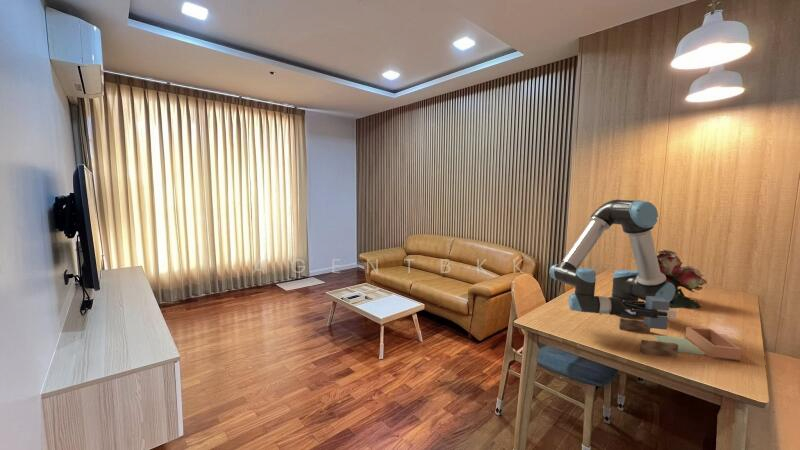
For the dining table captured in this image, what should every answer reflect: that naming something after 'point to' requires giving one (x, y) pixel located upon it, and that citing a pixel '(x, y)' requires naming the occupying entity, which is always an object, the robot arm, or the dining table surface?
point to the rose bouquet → (680, 278)
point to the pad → (681, 344)
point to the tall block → (656, 304)
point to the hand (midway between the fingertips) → (670, 311)
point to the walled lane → (646, 345)
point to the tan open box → (713, 344)
